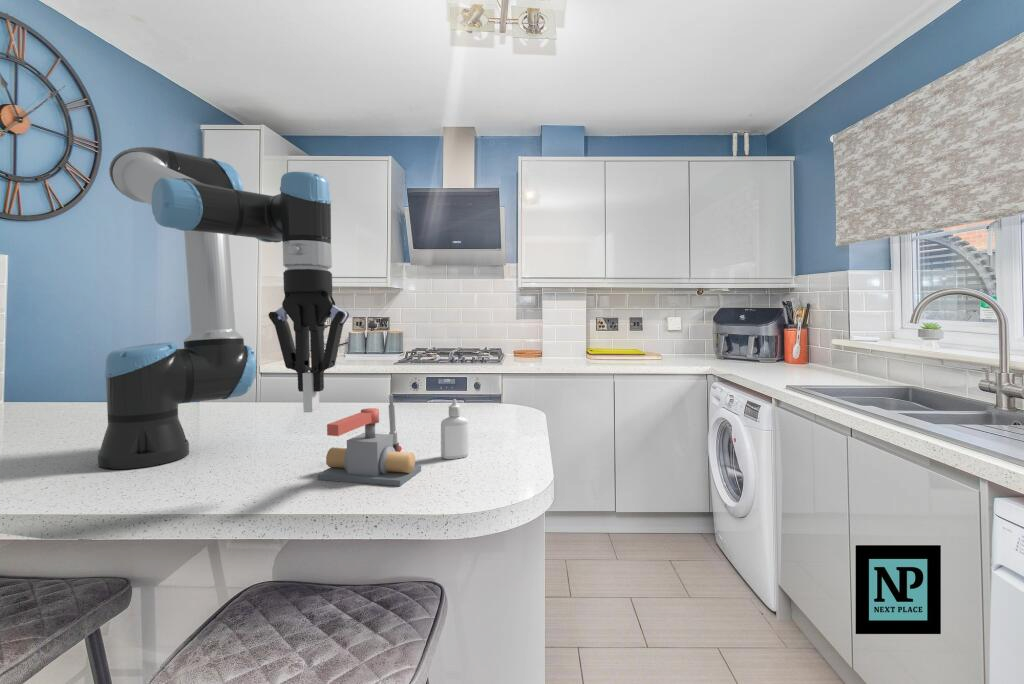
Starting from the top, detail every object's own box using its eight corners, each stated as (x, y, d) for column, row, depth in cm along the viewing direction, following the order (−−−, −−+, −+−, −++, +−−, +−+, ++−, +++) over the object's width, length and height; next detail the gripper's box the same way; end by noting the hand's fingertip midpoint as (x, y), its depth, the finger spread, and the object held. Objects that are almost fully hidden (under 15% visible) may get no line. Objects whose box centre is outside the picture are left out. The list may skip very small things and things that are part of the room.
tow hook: (347, 463, 103) (392, 461, 103) (343, 399, 103) (388, 398, 102) (361, 452, 112) (403, 451, 111) (358, 393, 111) (400, 392, 111)
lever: (366, 420, 95) (366, 407, 95) (382, 421, 95) (382, 408, 95) (323, 437, 82) (323, 422, 82) (341, 438, 81) (341, 423, 81)
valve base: (317, 479, 91) (316, 427, 91) (345, 465, 100) (344, 417, 100) (400, 486, 88) (399, 431, 87) (421, 470, 97) (420, 421, 96)
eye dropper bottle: (466, 460, 104) (466, 401, 103) (439, 459, 104) (438, 401, 103) (469, 454, 108) (469, 398, 108) (443, 453, 108) (443, 397, 108)
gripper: (257, 268, 81) (261, 415, 82) (337, 266, 81) (340, 415, 82) (281, 272, 89) (284, 407, 90) (354, 271, 88) (357, 407, 89)
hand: (311, 410), depth 86 cm, fingers closed
